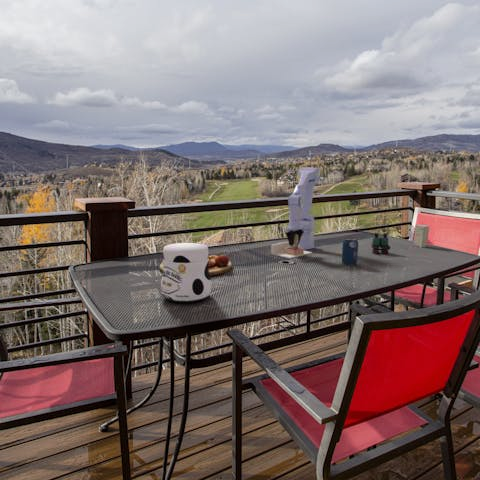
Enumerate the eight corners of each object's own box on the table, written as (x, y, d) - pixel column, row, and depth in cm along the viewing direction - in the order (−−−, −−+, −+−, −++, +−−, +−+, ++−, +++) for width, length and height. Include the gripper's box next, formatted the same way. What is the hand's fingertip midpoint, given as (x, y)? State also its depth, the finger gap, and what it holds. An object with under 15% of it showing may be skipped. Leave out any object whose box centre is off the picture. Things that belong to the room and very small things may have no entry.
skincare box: (413, 245, 234) (415, 224, 232) (418, 245, 236) (420, 224, 234) (422, 247, 229) (424, 226, 226) (427, 247, 230) (429, 225, 228)
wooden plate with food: (246, 266, 184) (246, 248, 183) (200, 282, 159) (200, 262, 157) (192, 258, 202) (192, 241, 201) (144, 271, 176) (143, 252, 175)
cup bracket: (293, 249, 220) (293, 240, 219) (312, 253, 211) (312, 243, 210) (271, 254, 208) (271, 244, 207) (290, 258, 199) (290, 248, 198)
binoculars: (375, 237, 206) (371, 231, 215) (373, 256, 209) (369, 250, 218) (393, 237, 205) (388, 232, 215) (391, 257, 208) (386, 251, 218)
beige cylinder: (295, 247, 211) (296, 234, 209) (299, 249, 207) (299, 235, 206) (288, 247, 210) (289, 234, 208) (291, 249, 206) (292, 236, 205)
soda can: (357, 266, 186) (359, 240, 184) (341, 265, 188) (343, 239, 185) (356, 262, 193) (358, 237, 191) (341, 261, 194) (342, 237, 192)
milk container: (153, 304, 134) (152, 251, 131) (170, 288, 151) (169, 241, 147) (204, 308, 131) (204, 254, 128) (216, 291, 148) (216, 243, 145)
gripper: (297, 216, 213) (296, 241, 216) (279, 218, 203) (278, 245, 206) (308, 217, 208) (307, 243, 211) (290, 220, 198) (289, 247, 201)
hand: (294, 244), depth 208 cm, fingers closed on beige cylinder, 4 cm apart
